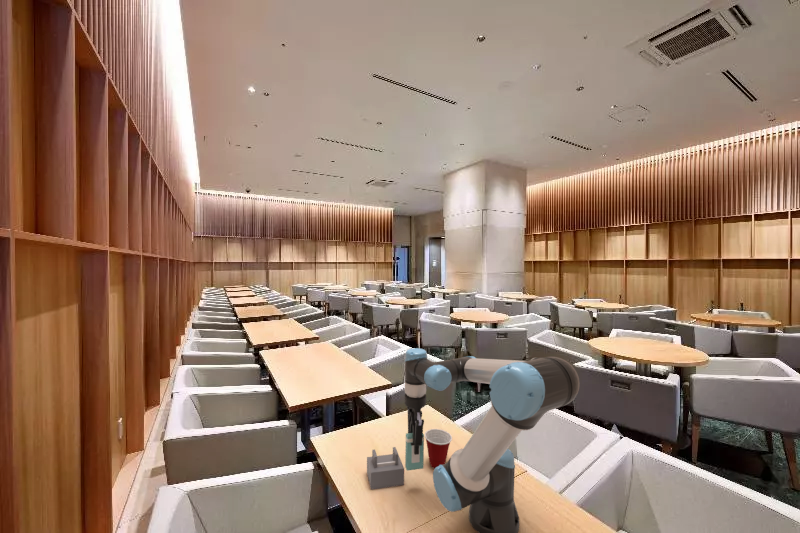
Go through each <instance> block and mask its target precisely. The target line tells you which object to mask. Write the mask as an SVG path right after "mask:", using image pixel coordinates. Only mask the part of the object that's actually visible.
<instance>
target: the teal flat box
mask: <svg viewBox="0 0 800 533" xmlns="http://www.w3.org/2000/svg"><path fill="white" fill-rule="evenodd" d="M424 442H425V433H423V437H422V446H420V462H417V463H412V446H411V443H413V433H408V432H407V433H405V457H404V458H405V462H404V463H405V464H404V466H405V467H404V468H405V469H406V471H414V470H415V471H417V470H423V469H424V455H425V454H424V449H425V443H424Z"/></svg>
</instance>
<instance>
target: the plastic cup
mask: <svg viewBox="0 0 800 533" xmlns="http://www.w3.org/2000/svg"><path fill="white" fill-rule="evenodd" d="M424 439H425V441H426V448H427V455H428V460H429V465H430V467H432V469H435V468H436V467H438V466H439V465H443V464H445V463H447V462H446V461H447V457H448V452H449V447H450V444H451V442H452V441H453V437H452V434H451V433H450V432H448V431H447V430H444V429H442V428H441V429H440V428H431V429H428V430H426V431H425V432H424Z"/></svg>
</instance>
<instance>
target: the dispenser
mask: <svg viewBox="0 0 800 533" xmlns="http://www.w3.org/2000/svg"><path fill="white" fill-rule="evenodd" d="M371 452H372V454H371V456H367V457H366V475H367V479H368V484H369V488H370V491H371V490H377V489H386V488H393V487H400V486H404V485H405V467H404V465H403V463H402V460H401V458H400V455H399V452H398V450H397V448H396V446H393V447H392V454H382V455H378V454H377V451H376V449H372V450H371Z"/></svg>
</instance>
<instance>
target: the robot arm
mask: <svg viewBox="0 0 800 533" xmlns="http://www.w3.org/2000/svg"><path fill="white" fill-rule="evenodd" d="M427 353H428V352H427V351H426V350H425V349H423V348H418V347H416V348H415V347H414V348H409V349H407V350H406V352H405V359H404V379H405V380H404V393H405V394H404V405H405V406H406V408H407V433H413V443H411V446H412V463H417V462H420V446H422V437H423V434H424V433H423V432H424V424H425V419H423V418H422V417H423V411H422V408H424V407H425V406H426V405H427V387H429V388H431V389H433V390H436V391H440V392H441V391H445V390H446V389H447V388H449V386H450V385H451V384H454V383H459V382H473V383H478V384H479V383H480V384H488V385H489V389H490V391H489V396H490V397H489V398H490V403H491V404H490V405H491V407H490V408H489V409H488V411H487V412H486V414H485V415H484V417H483V419H482V420H481V422H480V423H479V424H478V426H477V427H476V429H475V430H474V432H473V434H471V437H470V438H469V439H468V441H467V443H465V446H464V447H463V448H458V449H457V450H455V451H454V452H453V453H452V455H451V456H450V458H449V459H448V461H447V462H445V464H443V465H439V466H438V467H436V468H433V473H432V480H433V486H434V489H435V493H436V495H437V498H438V499H439V501H440V503H441V504H442V507H444V508H445V509H446V510H447V511H448V512H452V513H453V512H454V513H455V512H457V511H462V509H465V508H466V507H469V508H468V510H469V511H468V519H469V520H468V521H469V523H470V526H471V527H472V528H473V529H474V530H475V531H476V532H477V533H519V532H520V517H519V512H518V510H517V506H516V503H515V500H514V499H515V496H514V495H515V468H516V465H515V456H514V453H513V451H512V450H510V448H509V447H510V446H511V445H512V444H513V442H514V441H515V440H516V438H517V437H518V436H519V435H520V433H521V432H522V431H530V430H533V428H534V427H535V426H536V425H537V423H538V422H539V421H540V420H541V419H542V418H543V417H544V415H545V414H546V413H548V412H550V411H553V410H555V409H559V408H561V407H564V406H567V405H568V404H571V402H573V401H574V400H575V399H576V397H577V396H578V393H579V390H580V378H579V375H578V372H577V370H576V369H575V367H574V366H573V365H572V364H571V363H570V362H568V361H567V360H566V359H563V358H561V357H557V356H546V357H533V358H531V359H530V360H517V359H516V360H514V359H496V358H477V357H475V356H473V355H471V356H470V355H468V356H463V357H459V358H452V359H447V360H446V359H445V360H440V361H432V360H430V359H428V354H427Z"/></svg>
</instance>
